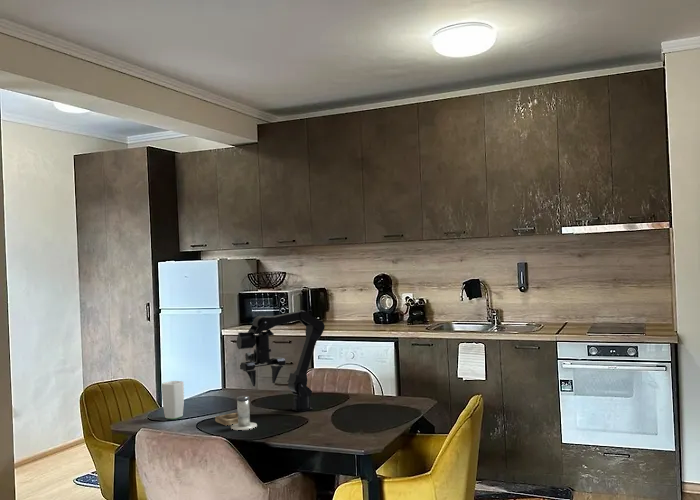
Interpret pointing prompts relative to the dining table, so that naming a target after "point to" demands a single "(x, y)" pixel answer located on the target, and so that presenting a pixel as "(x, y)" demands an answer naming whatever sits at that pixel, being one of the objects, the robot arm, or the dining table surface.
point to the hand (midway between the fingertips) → (263, 384)
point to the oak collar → (227, 419)
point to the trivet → (252, 425)
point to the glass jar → (243, 411)
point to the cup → (173, 399)
